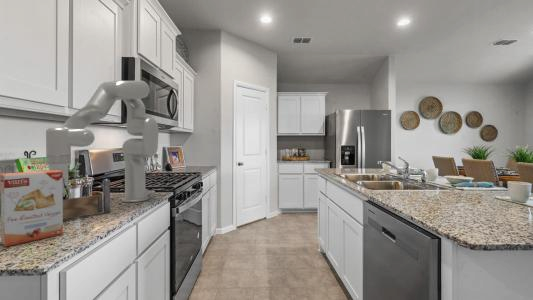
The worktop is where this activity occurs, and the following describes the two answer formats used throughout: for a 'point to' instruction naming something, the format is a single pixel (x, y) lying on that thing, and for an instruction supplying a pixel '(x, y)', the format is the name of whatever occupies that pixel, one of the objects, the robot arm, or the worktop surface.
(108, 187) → the gatepost
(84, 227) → the worktop surface
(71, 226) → the worktop surface
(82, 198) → the gate
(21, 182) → the cracker box
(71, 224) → the worktop surface
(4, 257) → the worktop surface
